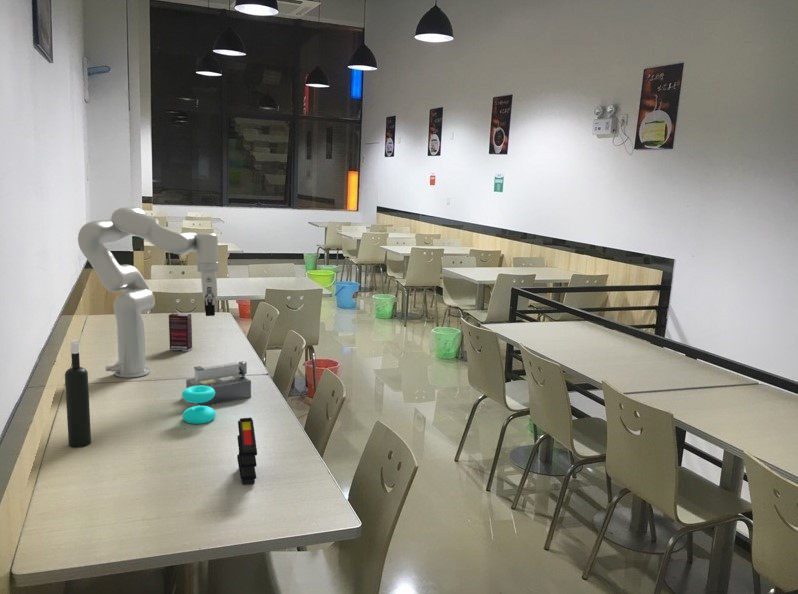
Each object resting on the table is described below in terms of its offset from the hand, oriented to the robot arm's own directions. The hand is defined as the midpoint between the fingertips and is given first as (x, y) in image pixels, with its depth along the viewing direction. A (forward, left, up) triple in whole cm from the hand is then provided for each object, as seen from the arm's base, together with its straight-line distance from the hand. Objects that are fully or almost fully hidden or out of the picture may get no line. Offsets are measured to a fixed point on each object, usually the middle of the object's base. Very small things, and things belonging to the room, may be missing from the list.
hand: (209, 313), depth 246 cm
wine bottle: (-54, -36, -26) cm, 70 cm away
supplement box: (+7, +48, -26) cm, 55 cm away
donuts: (-19, -36, -26) cm, 48 cm away
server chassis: (-4, -19, -26) cm, 32 cm away
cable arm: (-4, -19, -19) cm, 27 cm away
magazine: (-25, -82, -26) cm, 90 cm away
